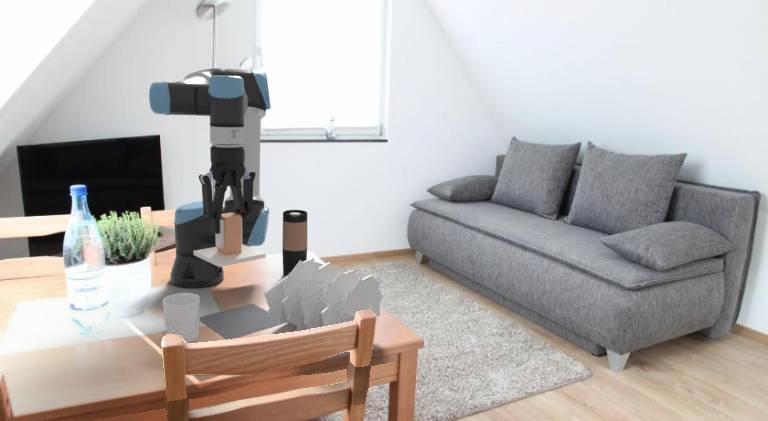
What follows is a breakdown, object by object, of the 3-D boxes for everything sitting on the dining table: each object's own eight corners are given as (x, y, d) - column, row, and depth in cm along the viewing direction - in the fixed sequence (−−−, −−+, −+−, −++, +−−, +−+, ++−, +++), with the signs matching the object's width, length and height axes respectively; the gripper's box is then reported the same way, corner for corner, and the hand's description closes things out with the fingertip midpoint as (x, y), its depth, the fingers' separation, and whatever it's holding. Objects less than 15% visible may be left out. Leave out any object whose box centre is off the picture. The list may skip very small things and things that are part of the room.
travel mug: (294, 268, 181) (295, 208, 177) (311, 273, 177) (312, 212, 173) (277, 274, 175) (277, 212, 171) (294, 279, 171) (295, 216, 167)
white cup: (189, 349, 123) (188, 307, 121) (157, 345, 125) (155, 303, 123) (207, 335, 131) (206, 294, 129) (176, 331, 132) (175, 291, 130)
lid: (193, 254, 132) (192, 213, 130) (238, 246, 140) (237, 207, 138) (219, 267, 124) (218, 223, 122) (265, 257, 132) (265, 216, 130)
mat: (196, 321, 138) (195, 318, 138) (252, 306, 149) (252, 303, 149) (228, 343, 127) (228, 340, 127) (287, 325, 138) (287, 322, 138)
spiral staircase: (301, 331, 145) (379, 355, 130) (252, 321, 131) (333, 348, 116) (320, 262, 148) (398, 279, 133) (275, 246, 134) (356, 263, 119)
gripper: (200, 148, 118) (203, 254, 123) (268, 145, 130) (268, 242, 135) (183, 145, 123) (187, 247, 128) (251, 142, 135) (251, 236, 140)
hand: (229, 244), depth 131 cm, fingers closed on lid, 4 cm apart
